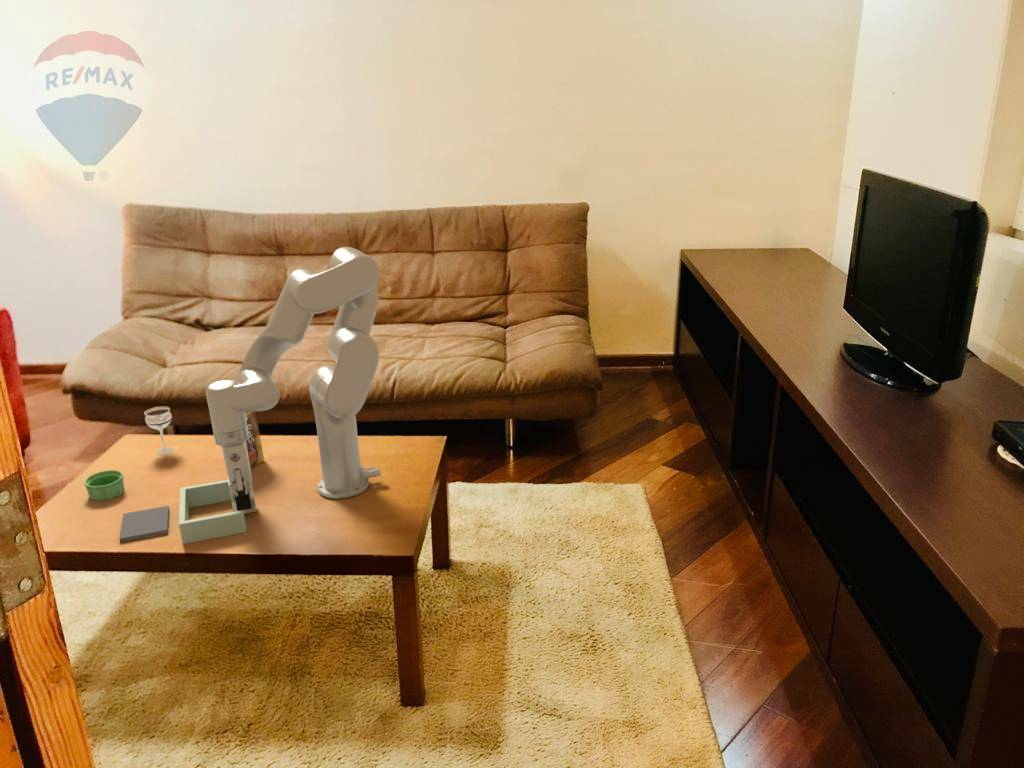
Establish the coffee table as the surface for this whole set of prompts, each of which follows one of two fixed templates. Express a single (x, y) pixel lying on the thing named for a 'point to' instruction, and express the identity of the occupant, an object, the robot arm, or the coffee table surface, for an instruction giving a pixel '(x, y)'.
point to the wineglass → (159, 424)
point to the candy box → (253, 440)
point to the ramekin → (104, 485)
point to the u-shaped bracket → (212, 524)
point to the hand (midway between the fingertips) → (243, 503)
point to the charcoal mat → (144, 523)
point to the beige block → (251, 494)
